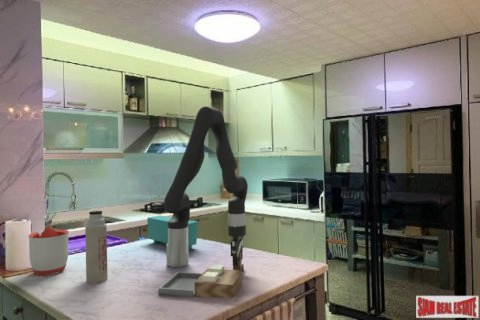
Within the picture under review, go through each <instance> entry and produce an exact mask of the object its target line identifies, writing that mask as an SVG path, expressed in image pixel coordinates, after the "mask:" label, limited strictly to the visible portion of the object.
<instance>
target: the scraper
mask: <svg viewBox="0 0 480 320" xmlns="http://www.w3.org/2000/svg"><path fill="white" fill-rule="evenodd" d="M234 253H235V252H234ZM242 260H243V259H241V252H239V253H238V266H233V265H232V270H242V273H243V272H244V270H245V267H244V263H242Z"/></svg>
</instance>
